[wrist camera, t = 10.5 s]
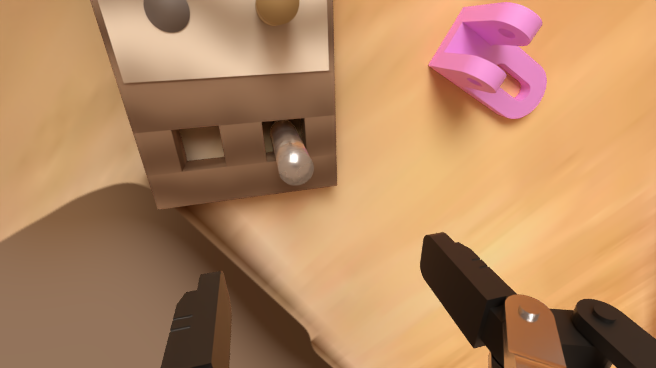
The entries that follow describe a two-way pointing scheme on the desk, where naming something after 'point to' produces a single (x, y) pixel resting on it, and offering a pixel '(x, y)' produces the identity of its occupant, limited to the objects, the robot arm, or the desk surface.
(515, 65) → the bracket
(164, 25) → the pin board
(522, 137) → the desk surface
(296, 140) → the grey metal pin
